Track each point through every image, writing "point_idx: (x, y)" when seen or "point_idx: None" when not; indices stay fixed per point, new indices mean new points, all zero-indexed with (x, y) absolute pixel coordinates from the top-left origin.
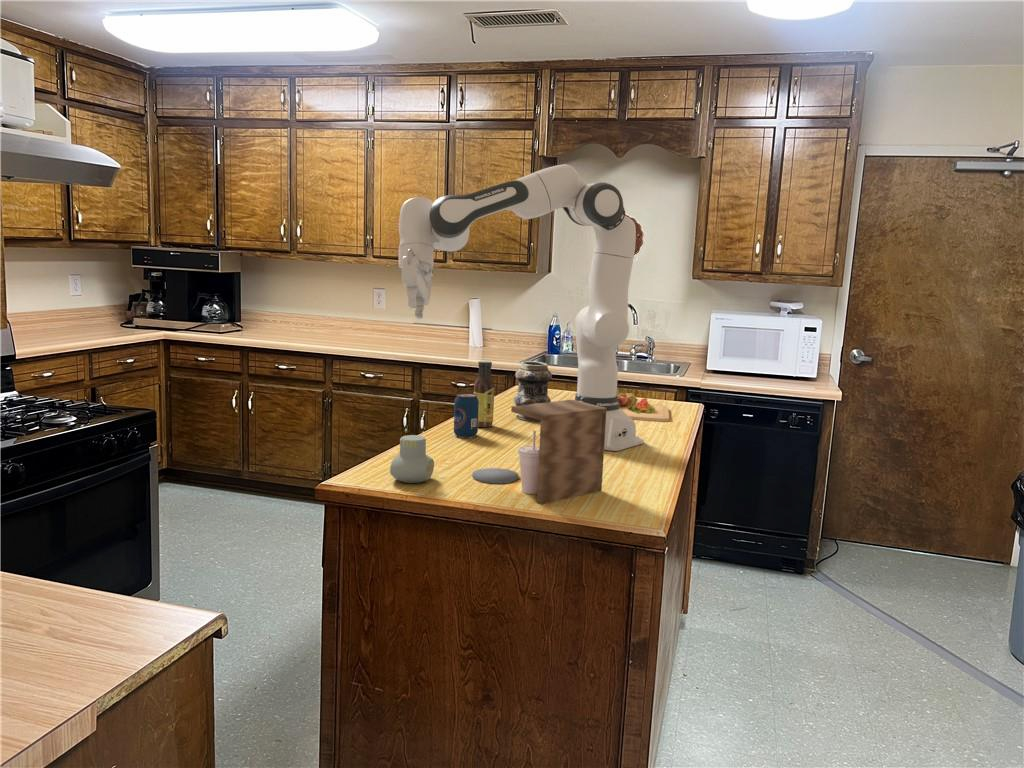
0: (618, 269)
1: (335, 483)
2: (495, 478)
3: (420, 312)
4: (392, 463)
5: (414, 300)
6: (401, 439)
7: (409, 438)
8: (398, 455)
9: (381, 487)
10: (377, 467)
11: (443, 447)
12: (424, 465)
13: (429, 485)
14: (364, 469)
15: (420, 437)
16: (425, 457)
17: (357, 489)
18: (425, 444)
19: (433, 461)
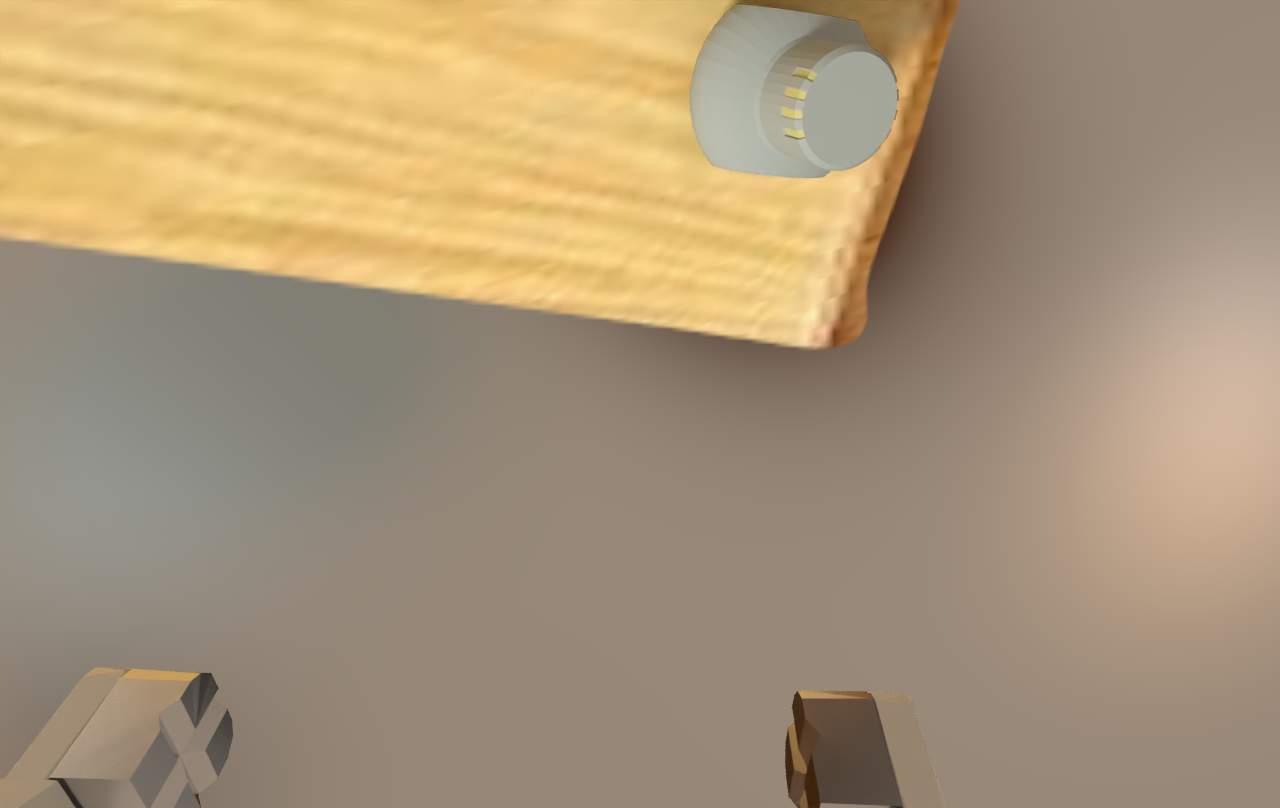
0: None
1: (815, 329)
2: None
3: (170, 754)
4: (830, 170)
5: (939, 799)
6: (867, 158)
7: (863, 124)
8: (804, 162)
9: (848, 177)
10: (621, 266)
11: (150, 46)
12: (859, 29)
13: (819, 2)
14: (655, 301)
15: (842, 75)
16: (826, 36)
17: (869, 245)
18: (846, 43)
19: (757, 6)
